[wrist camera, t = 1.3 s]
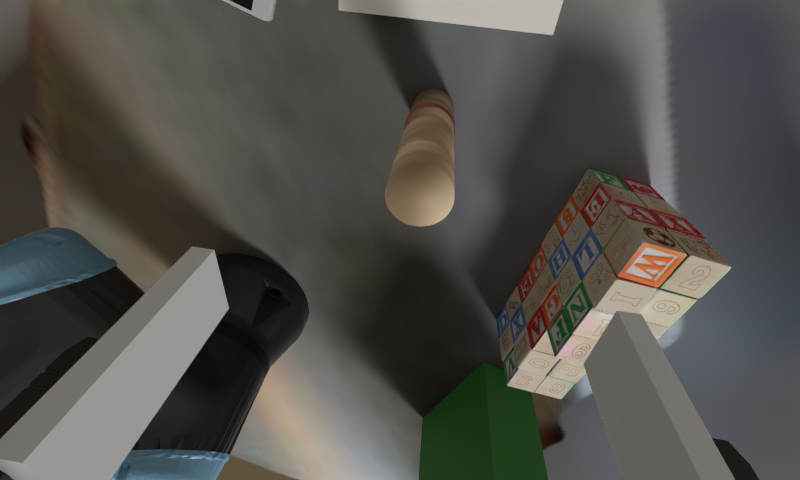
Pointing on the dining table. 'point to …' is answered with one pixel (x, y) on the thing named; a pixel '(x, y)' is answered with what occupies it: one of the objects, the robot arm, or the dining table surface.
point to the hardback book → (482, 432)
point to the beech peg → (424, 162)
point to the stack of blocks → (601, 280)
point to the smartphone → (256, 7)
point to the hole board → (468, 12)
